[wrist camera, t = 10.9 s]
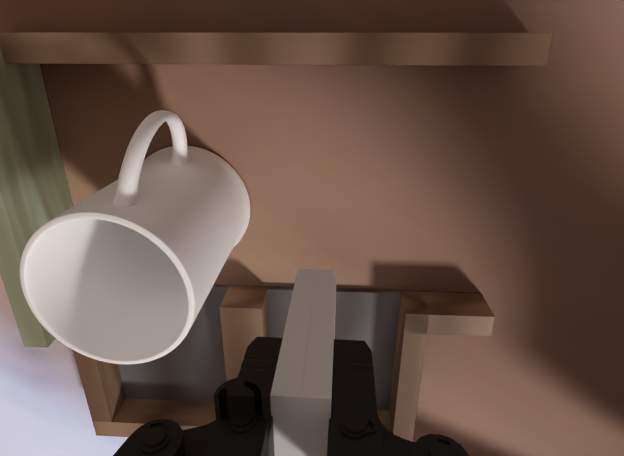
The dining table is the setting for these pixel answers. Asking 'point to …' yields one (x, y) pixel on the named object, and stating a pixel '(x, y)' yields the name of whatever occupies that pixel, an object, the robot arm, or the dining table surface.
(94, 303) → the mug
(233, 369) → the wooden compartment tray
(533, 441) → the dining table surface
